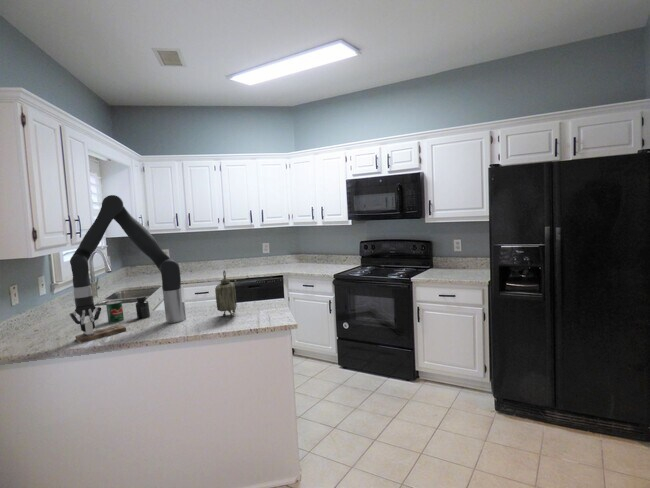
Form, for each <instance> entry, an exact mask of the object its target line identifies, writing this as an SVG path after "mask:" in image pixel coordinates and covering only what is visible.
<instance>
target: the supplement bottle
mask: <svg viewBox="0 0 650 488" xmlns="http://www.w3.org/2000/svg"><path fill="white" fill-rule="evenodd" d="M135 311H136V318H137V319H138V320H143V319H147V318H150V317H151V311H150V303H149V301H148V300H147V297H146V296H145V295H143V296H138V297H136V303H135Z"/></svg>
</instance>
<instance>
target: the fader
mask: <svg viewBox="0 0 650 488" xmlns="http://www.w3.org/2000/svg"><path fill="white" fill-rule="evenodd" d="M84 324H85V332H82V334H85V335H87V336H90V335H94V334H95V333H94V332H93V331H94V329H93V325H92V322H91V321H90V320H89V321H84Z"/></svg>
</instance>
